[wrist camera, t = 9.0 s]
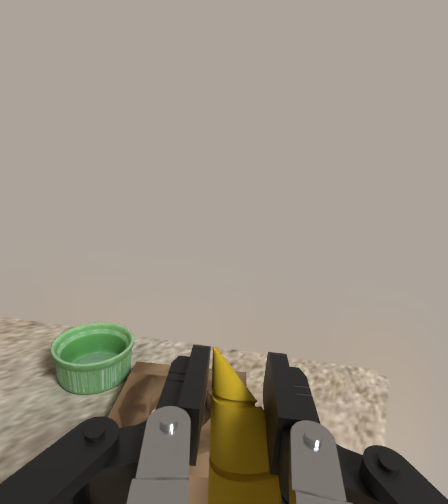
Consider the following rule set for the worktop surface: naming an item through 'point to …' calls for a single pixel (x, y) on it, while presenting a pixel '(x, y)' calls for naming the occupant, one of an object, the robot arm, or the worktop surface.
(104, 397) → the worktop surface
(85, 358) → the ramekin
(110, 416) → the socket board
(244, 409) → the drill bit
